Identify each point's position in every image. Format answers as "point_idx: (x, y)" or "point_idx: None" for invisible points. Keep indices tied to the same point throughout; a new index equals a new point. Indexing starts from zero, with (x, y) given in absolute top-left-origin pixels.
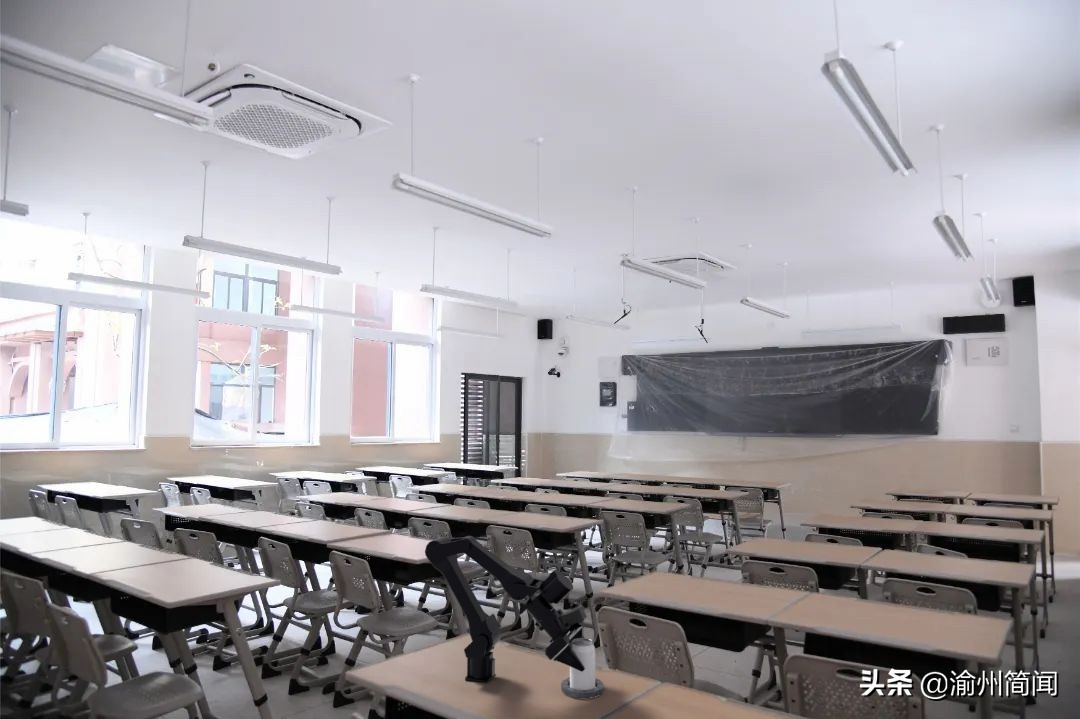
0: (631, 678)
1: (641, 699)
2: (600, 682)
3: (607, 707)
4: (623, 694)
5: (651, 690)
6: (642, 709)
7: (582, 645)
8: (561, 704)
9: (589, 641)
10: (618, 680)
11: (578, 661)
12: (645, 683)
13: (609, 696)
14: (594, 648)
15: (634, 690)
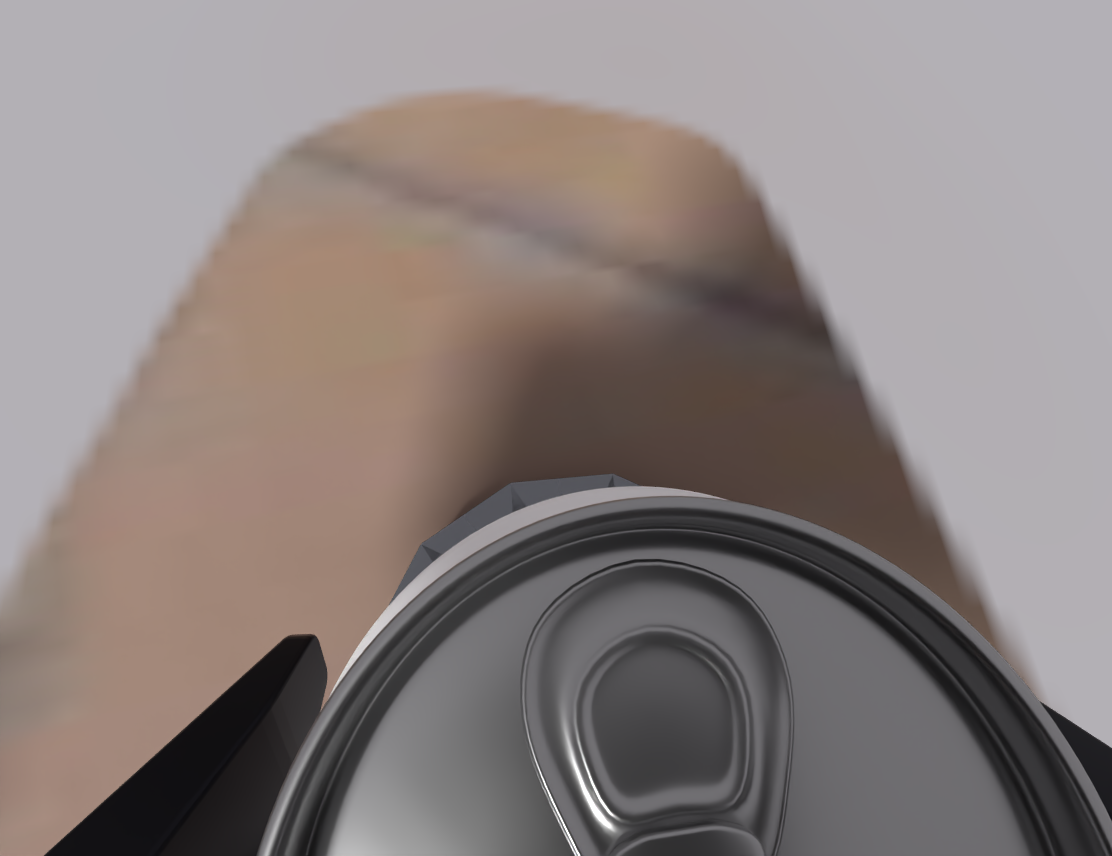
0: (214, 335)
1: (590, 213)
2: (488, 520)
3: (819, 395)
4: (548, 335)
5: (417, 178)
6: (741, 187)
7: (1104, 814)
8: None
9: (425, 698)
10: (276, 422)
11: (1096, 742)
12: (298, 229)
13: (622, 423)
14: (624, 489)
15: (450, 277)
